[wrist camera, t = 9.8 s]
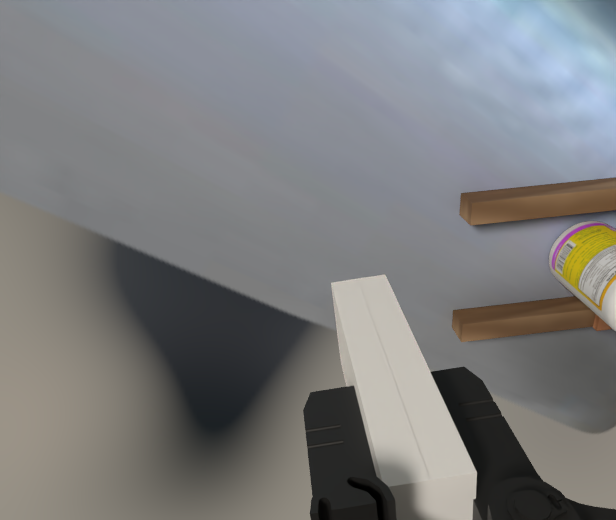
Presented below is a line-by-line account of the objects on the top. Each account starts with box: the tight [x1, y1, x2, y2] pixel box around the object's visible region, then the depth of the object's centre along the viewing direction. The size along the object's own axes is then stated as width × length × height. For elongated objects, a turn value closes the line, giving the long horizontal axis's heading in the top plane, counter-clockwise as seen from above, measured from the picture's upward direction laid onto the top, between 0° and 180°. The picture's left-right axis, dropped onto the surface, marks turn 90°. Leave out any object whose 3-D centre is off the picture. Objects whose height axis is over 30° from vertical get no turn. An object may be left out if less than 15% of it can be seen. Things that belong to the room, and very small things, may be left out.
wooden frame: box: [452, 178, 616, 342], centre depth 46 cm, size 14×22×4 cm, turn 94°
